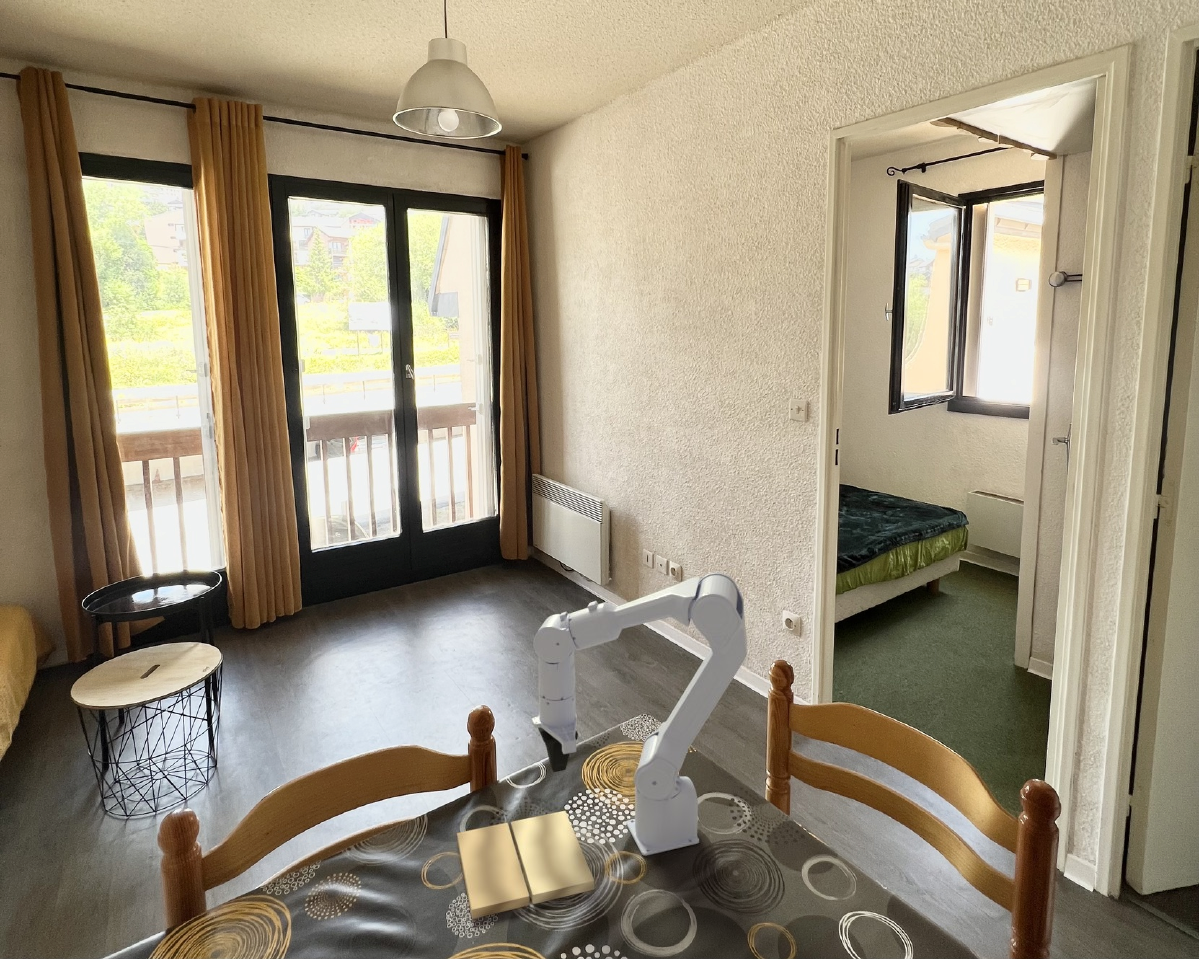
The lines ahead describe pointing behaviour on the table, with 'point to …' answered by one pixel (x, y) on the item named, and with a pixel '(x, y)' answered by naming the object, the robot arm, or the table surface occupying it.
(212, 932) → the table surface
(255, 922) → the table surface
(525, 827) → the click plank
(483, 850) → the laid oak board
